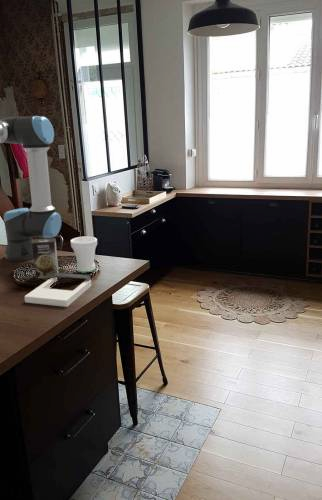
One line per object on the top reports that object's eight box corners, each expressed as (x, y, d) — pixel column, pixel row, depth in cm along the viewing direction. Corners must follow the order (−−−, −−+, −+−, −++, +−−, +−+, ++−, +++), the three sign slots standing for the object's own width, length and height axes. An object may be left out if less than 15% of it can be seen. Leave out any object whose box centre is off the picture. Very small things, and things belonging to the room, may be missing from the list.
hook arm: (54, 282, 173) (53, 272, 172) (90, 285, 168) (89, 275, 167) (52, 283, 172) (51, 273, 170) (89, 286, 167) (88, 276, 166)
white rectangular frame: (53, 282, 173) (52, 276, 172) (91, 285, 168) (91, 280, 167) (25, 302, 155) (24, 296, 154) (67, 306, 150) (66, 300, 149)
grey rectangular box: (35, 280, 175) (31, 243, 170) (37, 275, 181) (33, 238, 176) (58, 278, 177) (54, 241, 172) (59, 273, 183) (55, 237, 178)
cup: (102, 267, 189) (100, 236, 184) (94, 276, 178) (92, 243, 174) (78, 266, 191) (75, 235, 186) (69, 275, 180) (66, 243, 176)
